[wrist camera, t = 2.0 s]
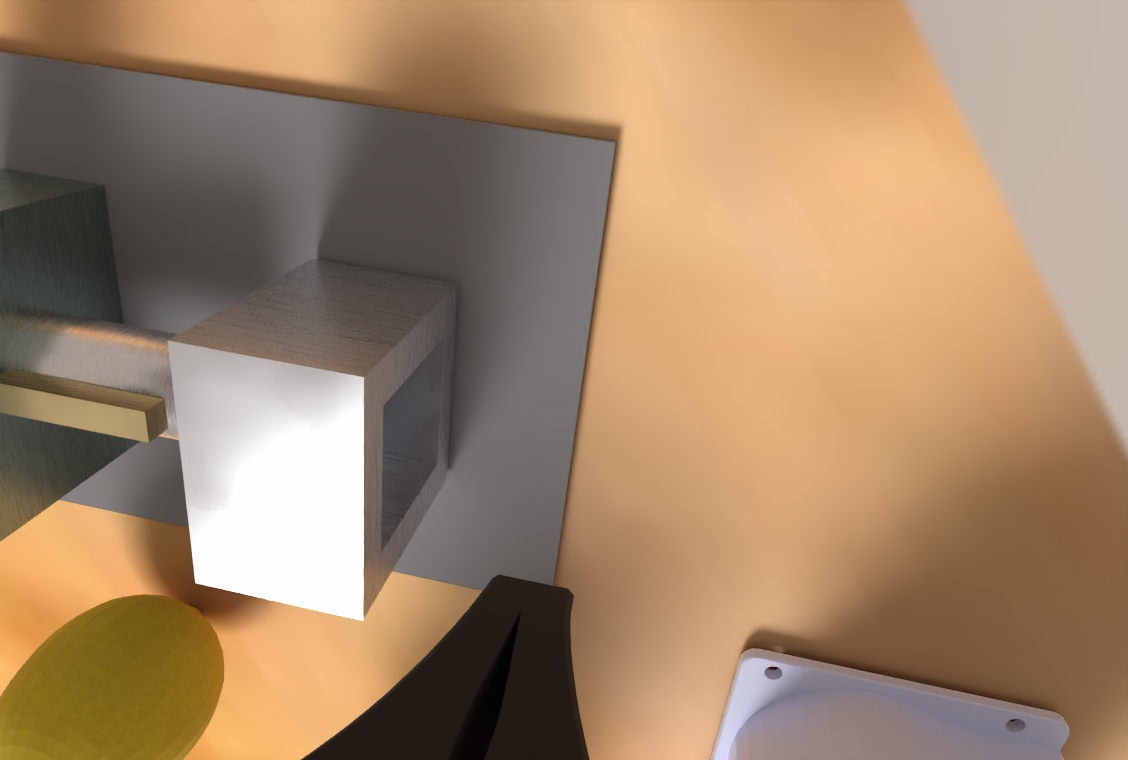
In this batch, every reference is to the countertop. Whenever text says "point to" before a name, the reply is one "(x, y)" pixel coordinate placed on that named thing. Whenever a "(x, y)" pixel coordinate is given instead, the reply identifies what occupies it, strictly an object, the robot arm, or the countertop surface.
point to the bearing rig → (68, 348)
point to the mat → (354, 237)
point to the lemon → (116, 685)
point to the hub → (315, 431)
